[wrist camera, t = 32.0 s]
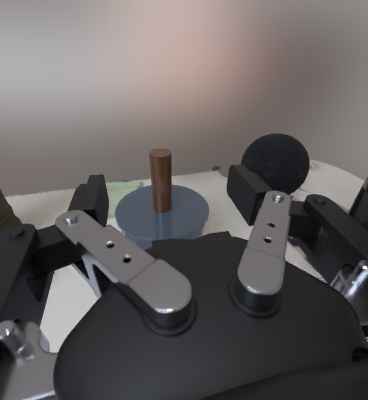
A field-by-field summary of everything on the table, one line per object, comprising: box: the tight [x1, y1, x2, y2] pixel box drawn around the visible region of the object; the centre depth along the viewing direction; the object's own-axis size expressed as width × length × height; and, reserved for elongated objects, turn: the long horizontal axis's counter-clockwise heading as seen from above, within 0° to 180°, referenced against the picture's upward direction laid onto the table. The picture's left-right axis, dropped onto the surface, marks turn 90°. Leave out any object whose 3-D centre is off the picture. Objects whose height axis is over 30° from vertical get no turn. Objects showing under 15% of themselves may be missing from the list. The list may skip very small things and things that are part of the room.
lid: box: [115, 149, 209, 243], centre depth 29 cm, size 13×13×9 cm
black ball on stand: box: [241, 134, 309, 195], centre depth 47 cm, size 13×13×15 cm
